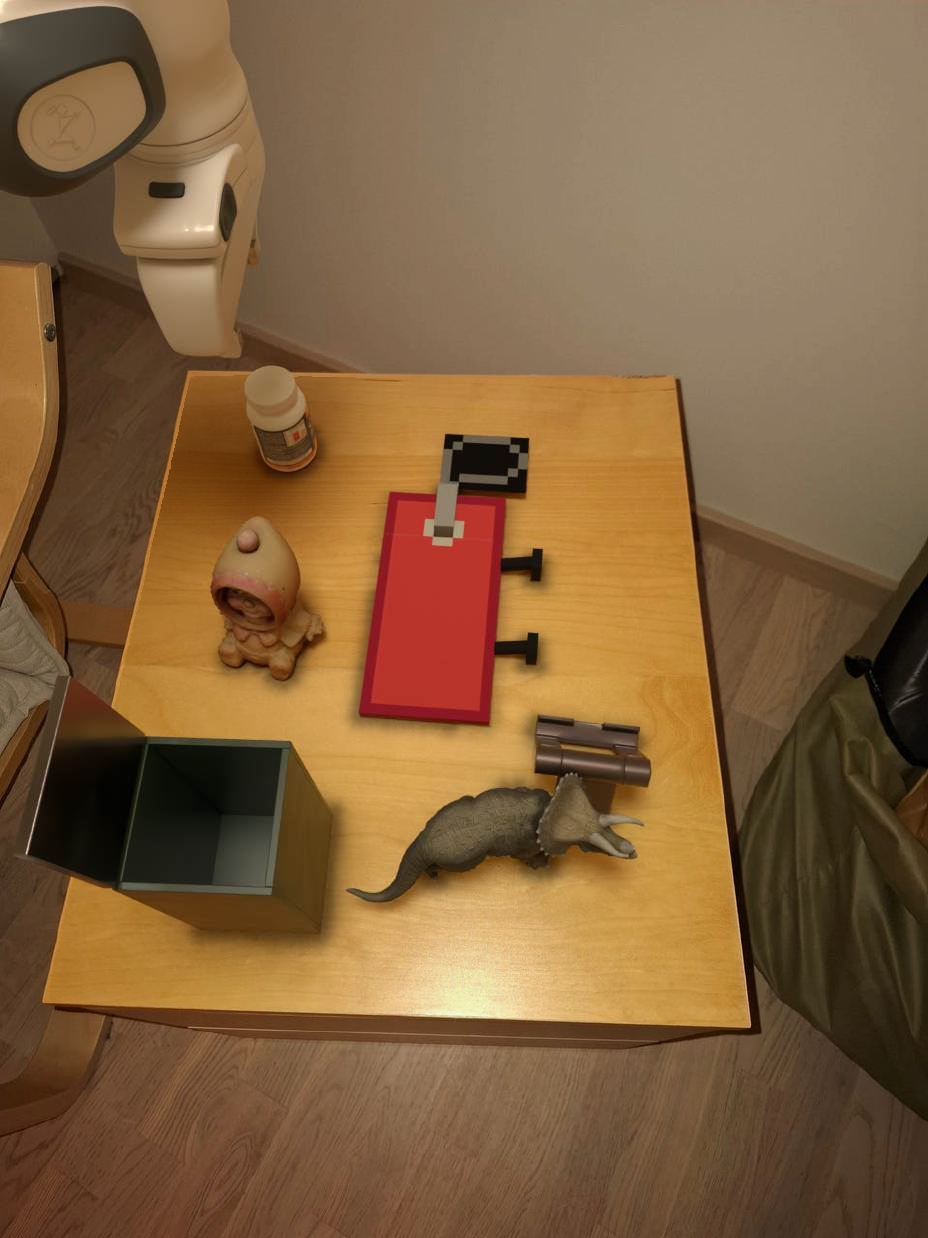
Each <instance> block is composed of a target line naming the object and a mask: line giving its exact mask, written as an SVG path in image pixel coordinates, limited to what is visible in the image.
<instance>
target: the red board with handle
mask: <svg viewBox="0 0 928 1238" xmlns="http://www.w3.org/2000/svg"><path fill="white" fill-rule="evenodd" d="M529 449H530V437H516V436H497V435H481V434H480V435H478V434H460V433H445V434H444V442H443V449H442V459H441V467H440V477H439V483H438V484H437V493H419V492H404V491H402V492H401V491H389V493H388V498H387V507H386V514H385V521H384V528H383V535H382V543H381V549H380V556H379V562H378V563H379V564H378V571H377V579H376V585H375V592H374V599H373V608H372V614H371V622H370V629H369V634H368V635H369V636H368V642H367V650H366V658H365V664H364V672H363V677H362V678H363V679H362V687H361V694H360V701H359V707H358V714H359V717H367V718H379V719H380V718H381V719H393V720H407V721H408V720H409V721H419V722H420V721H421V722H422V721H423V722H434V723H450V724H461V725H462V724H463V725H475V726H476V725H478V726H479V725H480V726H490V720H491V708H492V694H493V679H494V667H495V656H515V655H516V656H517V655H525V665H531V666H536V665H537V660H538V653H539V652H538V651H539V636H540V635H539V632H530V631H529V632H527V638H526V639H522V640H521V639H520V640H519V639H518V640H497V641H496V639H497V627H498V615H499V614H498V612H499V601H500V600H499V599H500V586H501V573H504V572H505V573H508V572H524V571H525V572H526V571H530V579H529V580H530V582H541V580H542V573H543V572H542V570H543V556H544V548H537V547H536V548H535V547H533V548H532V552H531V555H529V556H514V557H503V547H504V533H505V522H506V521H505V520H506V506H507V497H491V496H475V495H474V496H471V495H459V491H469V492H470V491H471V492H487V493H488V492H489V493H504V494H506V493H507V494H520V495H521V494H523V495H525V494H527V483H528V466H529V452H530V451H529Z"/></svg>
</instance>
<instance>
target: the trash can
mask: <svg viewBox="0 0 928 1238" xmlns="http://www.w3.org/2000/svg"><path fill="white" fill-rule="evenodd" d="M332 825H333V812H332V810H331V809H330V807H329V805H328V804H327V802H326V799H325V798H324V797H323V795H322V793H321V791H320V789H319V788H318V786H317V784H316V783H315V780H314V779H313V778H312V776H311V774H310V771H309V770H308V769H307V767H306V765H305V763H304V761H303V760H302V758H301V757H300V755H299V753H298V751H297V749H296V747H295V746H294V744H293V743H292V741H291V740H278V739H277V740H276V739H275V740H272V739H245V738H211V737H210V738H209V737H184V736H183V737H182V736H181V737H180V736H156V735H155V736H154V735H153V736H150V735H145V738H144V743H143V748H142V753H141V758H140V763H139V768H138V773H137V779H136V784H135V789H134V794H133V799H132V804H131V809H130V814H129V819H128V824H127V829H126V834H125V839H124V844H123V849H122V854H121V860H120V865H119V870H118V875H117V880H116V885H115V888H113V889H111V891H114V892H116V893H118V894H120V895H123V896H125V897H128V898H130V899H131V900H134V901H136V902H138V903H140V904H143V905H145V906H147V907H150V908H152V909H154V910H157V911H158V912H161V913H163V914H164V915H167V916H169V917H172V918H174V919H176V920H178V921H180V922H183V923H185V924H187V925H189V926H191V927H194V928H195V929H198V930H201V931H220V932H221V931H223V932H224V931H225V932H247V933H249V932H251V933H252V932H253V933H277V934H278V933H280V934H302V935H303V934H304V935H305V934H307V935H321V933H322V927H323V925H322V923H323V915H324V904H325V895H326V884H327V876H328V875H327V873H328V866H329V865H328V864H329V856H330V855H329V854H330V846H331V845H330V844H331V833H332V832H331V831H332Z"/></svg>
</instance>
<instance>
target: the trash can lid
mask: <svg viewBox="0 0 928 1238" xmlns="http://www.w3.org/2000/svg"><path fill="white" fill-rule="evenodd" d="M145 736H146V733H145V732H144V731H142V730H141V729H140V728H138V727H137V726H136V725H134V723H132V722H131V721H129V719H127V718H126V717H125V716H123V715H122V713H121V714H120V712H118V711H117V710H116V709H114V708H113V707H112V706H110V705H109V704H108V703H107V702H105V701H104V700H103V699H101V698H100V697H99V696H98V695H96V694H95V693H94V692H92V690H90V689H88V687H86V686H85V685H83V684H82V683H81V682H79V681H78V680H77V679H76V678H75V677H73V676H72V675H69V674H68V675H66V674H65V675H64V674H62V675H61V674H58V675H56V679H55V683H54V686H53V690H52V694H51V698H50V703H49V707H48V709H47V715H46V718H45V722H44V726H43V729H42V734H41V738H40V742H39V747H38V751H37V754H36V759H35V762H34V766H33V771H32V774H31V780H30V783H29V787H28V790H27V794H26V797H25V802H24V807H23V811H22V815H21V819H20V822H19V827H18V831H17V835H16V837H15V838H16V839H15V842H14V847H13V850H12V856H14V857H16V858H19V859H22V860H24V861H27V862H30V863H32V864H35V865H38V866H40V867H43V868H46V869H49V870H52V871H54V872H57V873H60V874H62V875H66V876H68V877H71V878H74V879H76V880H79V881H81V882H83V883H84V882H85V883H87V884H89V885H93V886H95V887H98V888H100V889H110V890H112V889H113V888H115V885H116V880H117V875H118V870H119V865H120V860H121V854H122V849H123V844H124V839H125V834H126V829H127V824H128V819H129V814H130V809H131V804H132V799H133V794H134V789H135V784H136V779H137V773H138V768H139V763H140V758H141V753H142V748H143V743H144V738H145Z"/></svg>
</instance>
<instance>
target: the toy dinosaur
mask: <svg viewBox="0 0 928 1238" xmlns="http://www.w3.org/2000/svg"><path fill="white" fill-rule="evenodd" d="M554 791H555V792H554ZM554 791H553V794H552V795H551V793H550V792H549V791H548V790H546V789H544V788H538V787H537V788H528V787H527V786H516V787H514V788H510V787H506V786H505V787H494V788H488V789H486V790H484V791H481V792H480V793H478V794H477V795H476V796H475V797H474V796H472V795H469V794H468V795H466V794H465V795H463V796H461V797H460V798H458V799H455V800H453V801H449V802H448V803H447V804H445V805H443V806H442V807H441V808H439V809H438V810H437V811H436V813H434V815H432V816H431V817H430V819H428V820H427V821H426V823H425V826H424V828H423V829H422V830H421V831H420V832H419V833H418V834H417V835H416V838H415V839H414V840H413V841H412V842H411V843H410V844H409V845H408V847H406V849H405V851H404V854H403V855H402V858H401V861H400V863H399V865H398V869H397V872H396V875H395V878H394V879H393V881H392V882H391V883H390V885H389V886H387V887H386V888H384V889H382V890H380V891H377V892H376V891H375V892H370V891H365V890H362V889H359V888H354V887H348V888H346V889H345V892H347V893H349V894H351V895H353V896H355V897H357V898H360V899H361V900H363V901H366V902H368V903H373V904H374V903H375V904H384V903H391V902H392V901H395V900H397V899H399V898H400V897H402V896H403V895H404V894H406V893H407V892H408V891H410V890H411V888H412V887H413V886H414V885H415V884H416V883H417V882H418V881H419V879H420V877H421V876H422V874H423V873H424V872H425V873H426V874H427V876H428V877H429V879H431V880H432V881H435V882H436V881H438V879H439V878H438V877H439V876H438V872H440V871H444V872H447V873H450V874H451V873H452V874H453V873H457V874H463V873H468V872H471V871H473V870H475V869H476V868H477V867H478V866H479V865H481V864H483V863H484V862H485V860H486V859H487V856H488V857H490V858H503V857H509V858H511V859H513V860H517V861H519V862H521V863H525V862H526V866H527V867H529V868H532V869H533V870H534V871H537V870H538V869H539V868H543V869H549V868H550V866H551V864H550V862H549V860H550V859H553V858H555V857H556V856H561V857H565V856H566V853H567V852H568V851H569V850H570V849H571V848H573V846H577V847H579V850H580V851H581V852H582V853H584V854H587V853H593V854H603V855H606V856H608V857H615V858H619V859H623V860H635V859H636V858H638V853H637V851H636V847H635V846H634V845H633V843H632V842H631V841H630V840H629V839H627V838H625V837H623V836H621V835H619V834H618V833H616V832H615V831H614V830H613V829H612V827H611V826H616V825H624V824H631V825H637V826H640V827H643V828H645V827H646V825H645V823H644V822H643V821H641V820H639V819H637V818H634V817H632V816H627V815H624V814H618V813H617V814H616V813H611V814H610V813H609V814H605V815H604V814H602V813H598V812H597V811H596V810H595V809H594V808H593V807H592V805H591V803H590V801H591V799H592V798H591V797H590V796H589V795H588V794H587V792H586V785H584V784H583V782H582V777H580V778H579V777H578V775H577V773H576V774H575V775H574V774H573V773H570V774H569V775H568V774H566V775H565V776H564V777H563V778H561V779H560V781H559V783H558V786H557V787H556V789H555V788H554Z"/></svg>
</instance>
